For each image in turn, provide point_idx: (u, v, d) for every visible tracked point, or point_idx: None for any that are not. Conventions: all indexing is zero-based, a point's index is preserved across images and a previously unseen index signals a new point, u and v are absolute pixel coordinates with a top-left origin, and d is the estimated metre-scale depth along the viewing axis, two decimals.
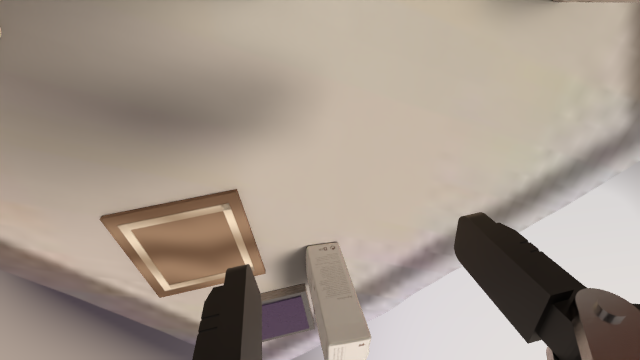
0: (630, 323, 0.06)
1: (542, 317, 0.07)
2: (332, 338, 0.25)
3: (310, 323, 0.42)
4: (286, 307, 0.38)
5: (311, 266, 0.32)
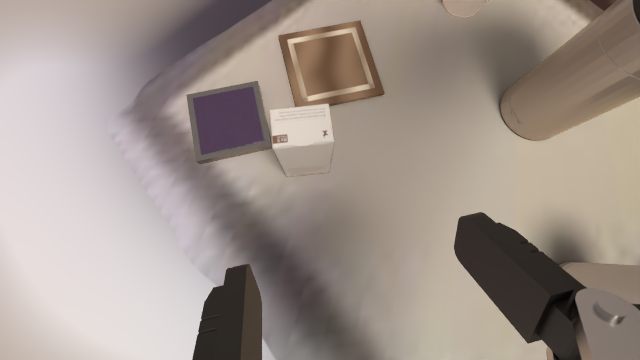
0: (630, 323, 0.06)
1: (542, 317, 0.07)
2: None
3: (209, 155, 0.36)
4: (249, 127, 0.37)
5: None
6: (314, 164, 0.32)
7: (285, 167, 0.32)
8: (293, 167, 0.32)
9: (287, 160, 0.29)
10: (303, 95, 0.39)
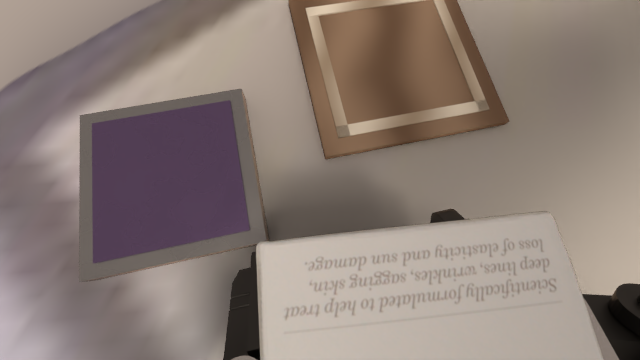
0: None
1: None
2: None
3: (113, 265, 0.15)
4: (217, 196, 0.16)
5: None
6: None
7: None
8: None
9: None
10: (339, 123, 0.18)
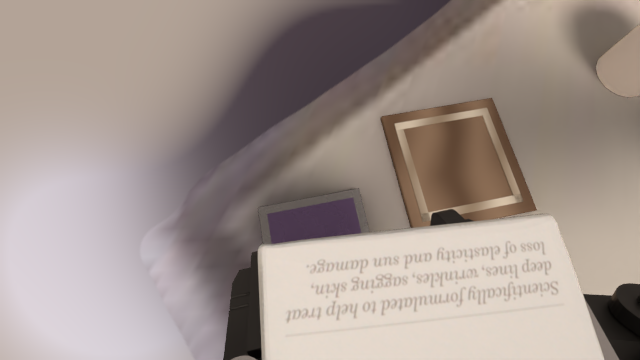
0: None
1: None
2: None
3: None
4: None
5: None
6: None
7: None
8: None
9: None
10: (423, 211, 0.27)
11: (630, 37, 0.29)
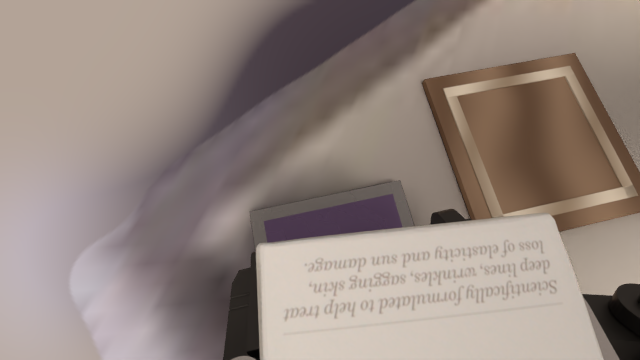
0: None
1: None
2: None
3: None
4: None
5: None
6: None
7: None
8: None
9: None
10: (495, 212, 0.18)
11: None
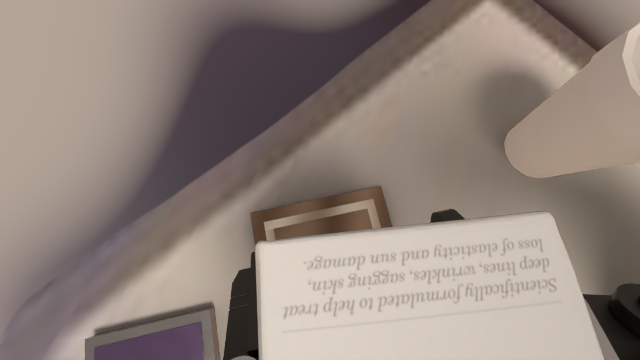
0: None
1: None
2: None
3: None
4: None
5: None
6: None
7: None
8: None
9: None
10: None
11: (529, 120, 0.26)
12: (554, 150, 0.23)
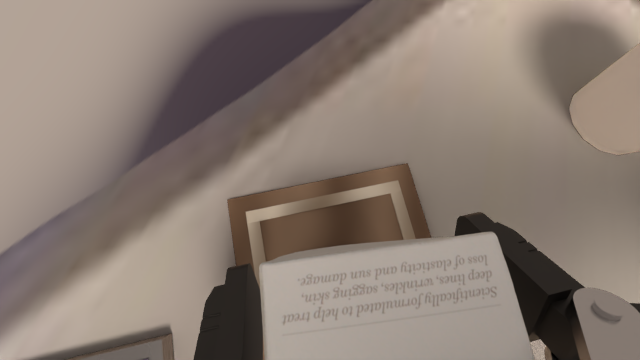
0: (628, 322, 0.06)
1: (540, 317, 0.07)
2: None
3: None
4: None
5: None
6: None
7: None
8: None
9: None
10: None
11: (619, 69, 0.18)
12: None
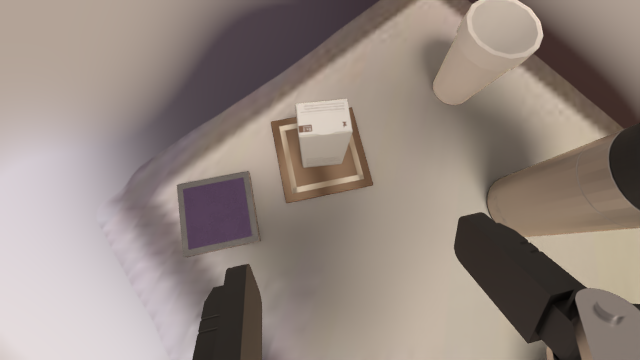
0: (630, 323, 0.06)
1: (542, 317, 0.07)
2: None
3: (196, 250, 0.36)
4: (238, 221, 0.37)
5: None
6: (330, 154, 0.36)
7: (304, 157, 0.36)
8: (311, 157, 0.36)
9: (308, 150, 0.33)
10: (293, 186, 0.40)
11: (442, 64, 0.42)
12: (451, 78, 0.40)
